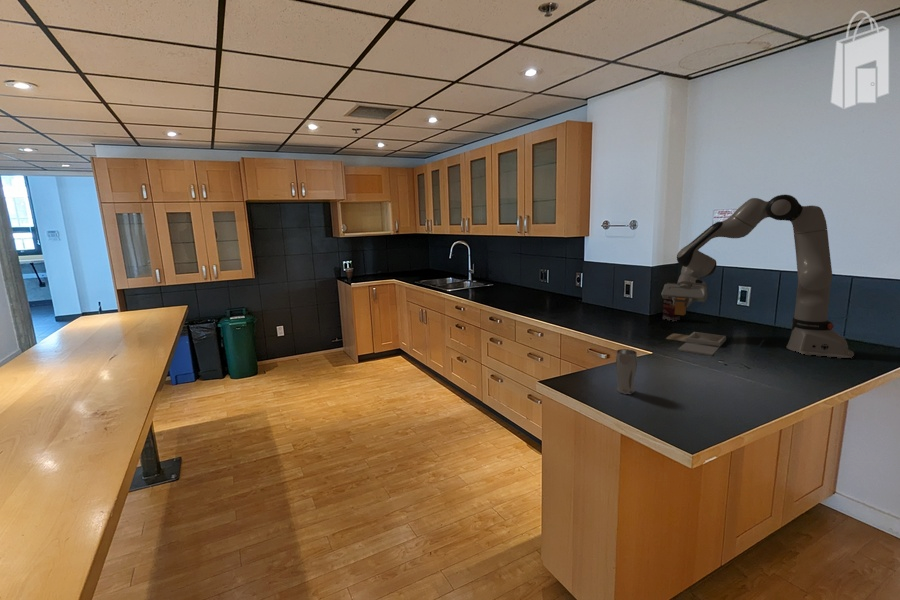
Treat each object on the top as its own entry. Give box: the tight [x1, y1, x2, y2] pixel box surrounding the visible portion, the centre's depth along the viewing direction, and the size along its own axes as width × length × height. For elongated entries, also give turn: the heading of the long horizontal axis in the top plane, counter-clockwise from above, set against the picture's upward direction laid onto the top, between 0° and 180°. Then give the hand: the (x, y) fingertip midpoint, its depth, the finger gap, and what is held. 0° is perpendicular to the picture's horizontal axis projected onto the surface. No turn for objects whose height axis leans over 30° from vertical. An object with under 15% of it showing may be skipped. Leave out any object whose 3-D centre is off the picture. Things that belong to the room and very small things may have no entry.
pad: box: [665, 333, 690, 343], centre depth 213 cm, size 9×12×1 cm
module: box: [675, 298, 688, 316], centre depth 210 cm, size 4×4×8 cm
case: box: [677, 331, 727, 357], centre depth 200 cm, size 14×28×3 cm, turn 137°
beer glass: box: [615, 348, 638, 394], centre depth 151 cm, size 7×7×15 cm
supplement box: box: [662, 298, 681, 322], centre depth 250 cm, size 9×5×16 cm, turn 25°
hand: (680, 306), depth 209 cm, fingers closed on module, 4 cm apart
